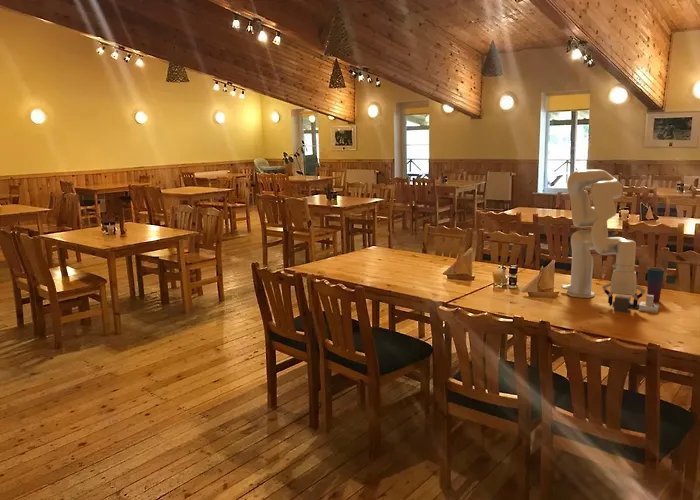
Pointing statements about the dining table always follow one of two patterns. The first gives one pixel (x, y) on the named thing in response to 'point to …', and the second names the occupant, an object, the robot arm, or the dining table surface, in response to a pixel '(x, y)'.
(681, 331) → the dining table surface
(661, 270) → the cup
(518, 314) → the dining table surface
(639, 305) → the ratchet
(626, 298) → the socket
